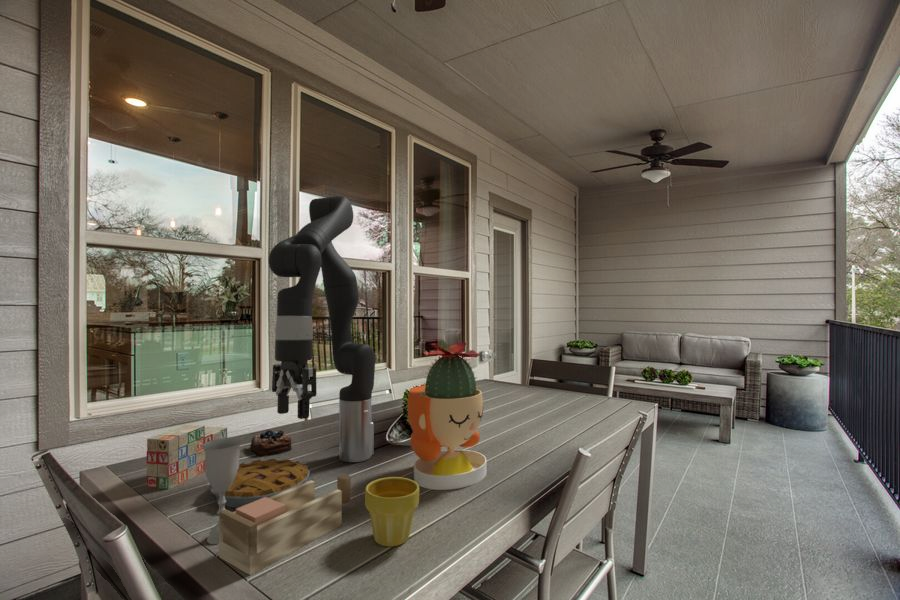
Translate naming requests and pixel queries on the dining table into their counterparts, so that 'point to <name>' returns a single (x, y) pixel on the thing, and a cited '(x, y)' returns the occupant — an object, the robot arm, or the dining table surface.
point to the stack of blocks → (178, 454)
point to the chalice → (221, 472)
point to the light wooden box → (278, 528)
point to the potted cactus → (447, 422)
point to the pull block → (271, 508)
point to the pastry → (270, 443)
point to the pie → (263, 480)
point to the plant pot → (391, 508)
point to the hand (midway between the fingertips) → (292, 415)
